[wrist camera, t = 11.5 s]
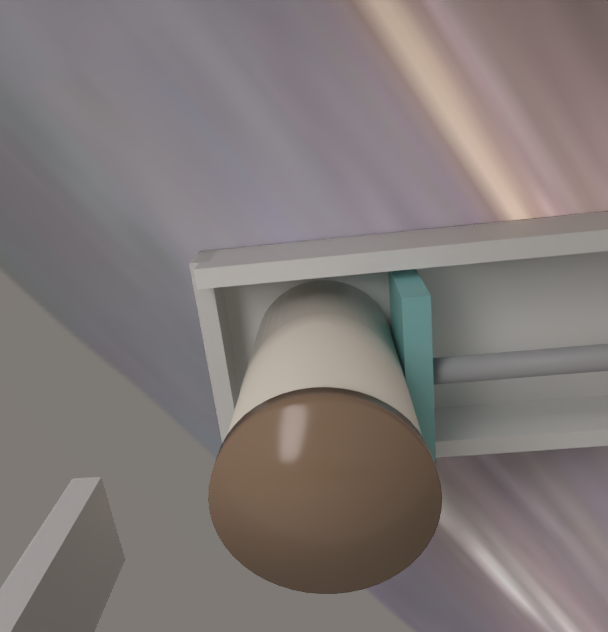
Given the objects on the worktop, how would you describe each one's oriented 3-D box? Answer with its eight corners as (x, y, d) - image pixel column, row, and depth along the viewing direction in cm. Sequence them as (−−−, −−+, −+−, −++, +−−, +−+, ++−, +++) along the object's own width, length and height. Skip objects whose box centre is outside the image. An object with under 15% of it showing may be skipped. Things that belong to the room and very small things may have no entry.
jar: (245, 285, 24) (188, 412, 14) (389, 270, 24) (438, 392, 14) (265, 410, 26) (228, 600, 16) (397, 399, 26) (445, 587, 16)
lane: (199, 251, 24) (169, 285, 19) (745, 197, 22) (857, 220, 18) (232, 435, 27) (212, 503, 22) (712, 398, 26) (799, 464, 21)
